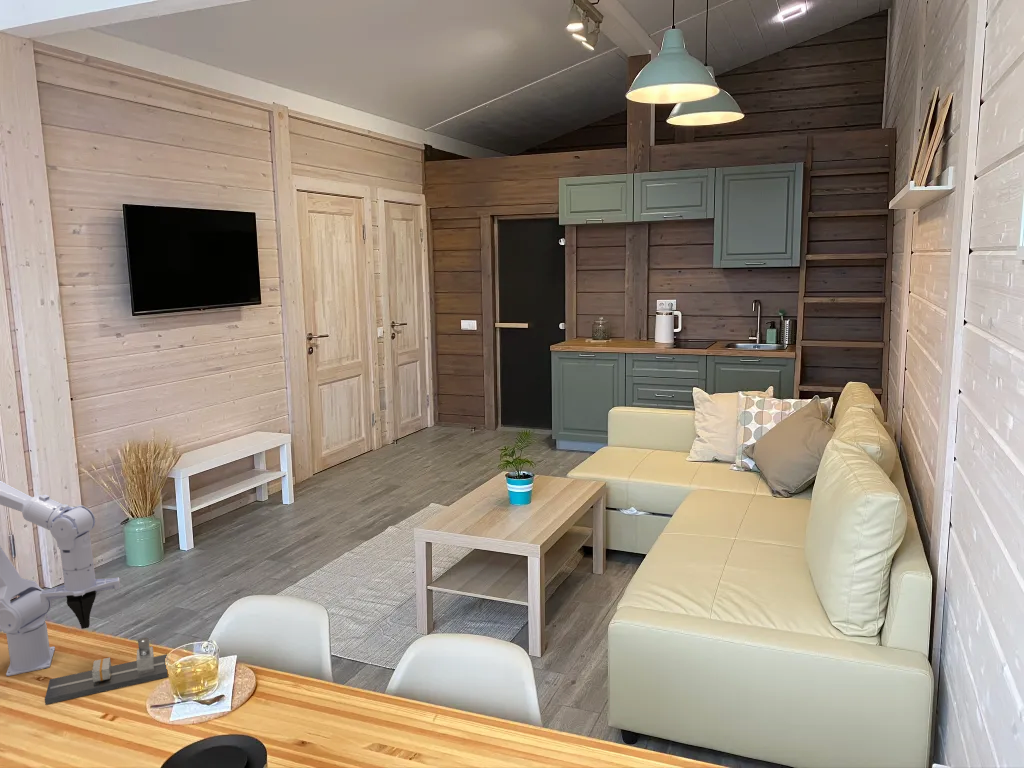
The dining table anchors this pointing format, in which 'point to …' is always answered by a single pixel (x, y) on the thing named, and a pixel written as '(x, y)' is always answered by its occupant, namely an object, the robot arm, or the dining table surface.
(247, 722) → the dining table surface
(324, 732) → the dining table surface
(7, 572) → the robot arm
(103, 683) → the plate
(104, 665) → the block
